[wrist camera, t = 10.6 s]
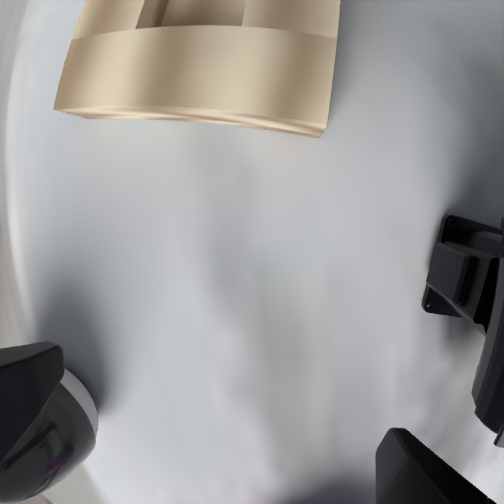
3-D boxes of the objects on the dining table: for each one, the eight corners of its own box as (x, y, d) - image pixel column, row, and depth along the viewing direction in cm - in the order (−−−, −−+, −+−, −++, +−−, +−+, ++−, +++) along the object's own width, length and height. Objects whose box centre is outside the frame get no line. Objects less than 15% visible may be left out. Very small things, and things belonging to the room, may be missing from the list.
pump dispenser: (17, 342, 24) (-88, 413, 9) (90, 347, 23) (-37, 458, 8) (54, 423, 26) (-22, 505, 11) (129, 439, 24) (54, 556, 10)
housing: (339, -48, 14) (344, -80, 10) (319, 138, 18) (326, 125, 14) (141, -47, 16) (122, -72, 12) (87, 118, 19) (53, 109, 15)
